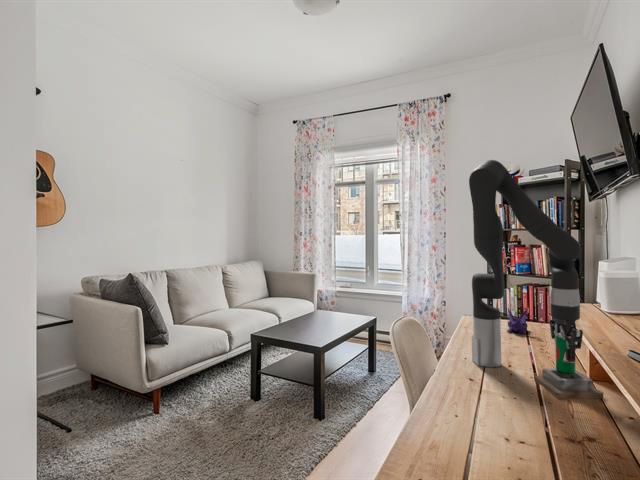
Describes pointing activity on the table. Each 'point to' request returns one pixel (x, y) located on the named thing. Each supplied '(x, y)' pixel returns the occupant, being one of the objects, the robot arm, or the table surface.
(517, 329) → the creature
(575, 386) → the grey hollow square frame
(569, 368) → the soda can
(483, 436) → the table surface
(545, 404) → the table surface
